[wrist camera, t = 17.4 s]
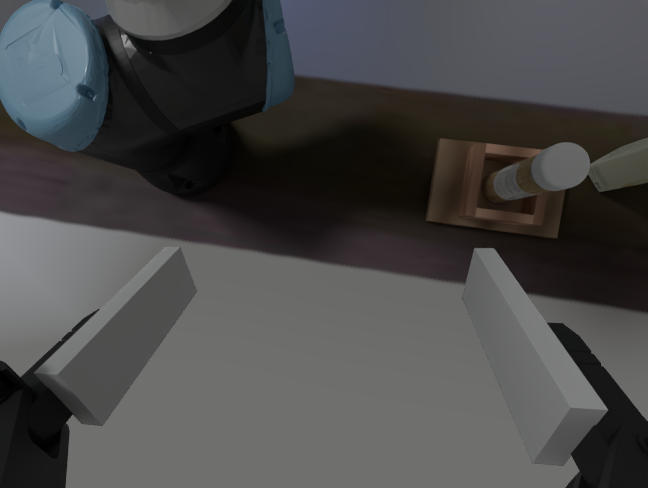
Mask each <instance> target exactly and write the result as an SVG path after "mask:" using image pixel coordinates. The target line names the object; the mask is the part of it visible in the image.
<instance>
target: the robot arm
mask: <svg viewBox="0 0 648 488" xmlns="http://www.w3.org/2000/svg"><path fill="white" fill-rule="evenodd" d="M105 2H106V6H107V10H108V12H109V15H106V16H104V17H101V18H99V19H96V20H91V18H90V17H89V16H88V15H87V14H86V13H85V12H84V11H83V10H81V9H80V8H78V7H76V6H72V5H70V4H68V3H64V2H62V1H60V0H33V1H31V2H29V3H27V4H25V5H23V6H22V7H21V8H19V9H18V10H17V11H16V12H15V13H14V14H13V15H12V16H11V17H10V19H9V20H8V21H7V23H6V25H5V27H4V28H3V30H2V32H1V35H0V99H1V101H2V104H3V106H4V107H5V109H6V111H7V112H8V114H9V115H10V117H11V118H12V119H13V120H14V121H15V122H16V124H18V125H19V126H20V127H21V128H22V129H23V130H25V131H27V132H28V133H29V134H31V135H33V136H35V137H37V138H39V139H41V140H44V141H47V142H49V143H52V144H54V145H56V146H58V147H59V148H61V149H63V150H66V151H71V152H73V151H75V152H78V153H81V154H85V155H88V156H91V157H94V158H98V159H101V160H104V161H107V162H110V163H114V164H117V165H120V166H123V167H126V168H130V169H133V170H136V171H137V172H138V173H139V174H140V175H141V176H143V177H144V178H145V179H146V180H147V181H148V182H149V183H151V184H152V185H153V186H155V187H157V188H158V189H160V190H163V191H165V192H168V193H172V194H176V195H183V196H189V195H196V194H199V193H202V192H205V191H206V190H208V189H210V188H211V187H213V186H214V185H215V184H216V183H217V182H218V181H219V180H220V179H221V178H222V177H223V175H224V174H225V172H226V170H227V168H228V165H229V163H230V159H231V153H232V141H231V136H230V132H229V130H228V127H227V125H226V123H229V122H232V121H235V120H238V119H241V118H244V117H247V116H251V115H254V114H257V113H260V112H265V111H266V110H267V109H268V108H270V107H272V106H274V105H277V104H279V103H281V102H284V101H286V100H287V99H288V98H289V97H290V96H291V95H292V93H293V91H294V87H295V77H294V69H293V62H292V56H291V51H290V46H289V41H288V36H287V32H286V29H285V27H284V20H283V14H282V8H281V4H280V0H105ZM196 293H197V290H196V287H195V285H194V282H193V280H192V277H191V274H190V272H189V269H188V266H187V264H186V261H185V258H184V256H183V253H182V251H181V248H180V247H165V248H163V249H162V250H161V251H160V252H159V253H158V254H157V255H156V256H155V257H154V258H153V259H152V260H151V261H150V262H149V263H148V264H147V265H146V266H145V267H144V268H143V269H142V270H140V272H138V273H137V274H136V275H135V276H134V277H133V278H132V279H131V280H130V281H129V282H128V283H127V284H126V285H125V286H124V287H123V288H122V289H121V290H120V291H119V292H118V293H116V294H115V295H114V296H113V297H112V298H111V299H110V300H109V301H108V302H107V303H106V304H105V305H104V306H103V307H102V308H101V309H98V310H96V311H95V312H93V313H92V314H90V315H88V316H87V317H85V318H84V319H82V320H81V321H80V322H79V323H78V324H77V325H76V326H75V327H74V328H73V329H72V331H71V332H69V333H67V334H66V335H65V336H64V337H63V338H62V341H59V342H58V343H57V344H56V345H55V346H54V347H53V348H51V349H50V350H49V351H48V352H47V353H46V354H45V355H44V356H43V357H42V358H41V359H40V360H39V361H38V362H36V363H35V364H34V365H33V366H32V367H31V368H30V369H29V370H28V371H27V372H26V373H25V374H24V375H23V376H21V377H19V376H18V375H17V374H16V373H15V372H14V371H13V370H12V369H11V368H10V367H9V366H8V365H7V364H6V363H5V362H3V361H0V488H65V486H66V472H67V459H68V445H69V427H68V425H67V424H66V422H67V421H68V419H69V418H70V417H71V416H72V415H74V416H75V417H76V418H77V419H78V421H80V423H81V424H87V425H98V426H103V425H104V423H105V422H106V420H107V419H108V418H109V416H110V415H111V413H112V412H113V410H114V409H115V408H116V406H117V405H118V403H119V402H120V401H121V399H122V398H123V396H124V395H125V393H126V392H127V391H128V389H129V388H130V386H131V385H132V383H133V382H134V381H135V379H136V378H137V376H138V375H139V374H140V372H141V371H142V369H143V368H144V366H145V365H146V364H147V362H148V360H149V359H150V358H151V356H152V355H153V353H154V352H155V351H156V349H157V348H158V347H159V345H160V344H161V342H162V341H163V339H164V338H165V337H166V335H167V334H168V332H169V331H170V329H171V328H172V327H173V325H174V324H175V322H176V321H177V320H178V318H179V317H180V315H181V314H182V312H183V311H184V310H185V308H186V307H187V305H188V304H189V302H190V301H191V300H192V298H193V297H194V295H195V294H196ZM462 299H463V301H464V304H465V306H466V308H467V311H468V313H469V315H470V318H471V320H472V322H473V324H474V327H475V329H476V332H477V334H478V337H479V339H480V341H481V344H482V346H483V348H484V351H485V353H486V355H487V358H488V360H489V362H490V365H491V367H492V369H493V371H494V374H495V376H496V379H497V381H498V383H499V386H500V388H501V391H502V393H503V395H504V397H505V400H506V402H507V405H508V407H509V409H510V412H511V414H512V416H513V419H514V421H515V423H516V426H517V428H518V430H519V433H520V435H521V437H522V440H523V442H524V444H525V447H526V449H527V451H528V454H529V456H530V458H531V461H532V463H535V464H547V465H559V466H563V465H564V464H565V463H566V461H567V460H568V459H569V458H570V456H571V455H572V457H573V459H574V461H575V463H576V465H577V467H578V468H579V470H580V471H579V473H578V474H577V475H576V476H575V477H574V478H573V479H572V480H571V481H570V483H569V484H568V485H567V487H566V488H648V421H646V419H645V418H644V417H643V416H642V415H641V414H640V412H639V411H638V410H637V408H636V407H635V406H634V405H633V404H632V402H631V401H630V399H629V398H628V397H627V396H626V394H625V393H624V392H623V391H622V389H621V388H620V387H619V386H618V384H617V383H616V382H615V381H614V379H613V378H612V377H611V375H610V374H609V373H608V372H607V370H606V369H605V368H604V367H602V366H601V363H600V362H599V360H598V359H597V358H596V357H595V355H594V354H591V350H590V349H589V348H588V346H587V345H586V344H585V343H584V341H583V340H582V339H581V338H580V336H579V335H577V334H576V333H575V332H573V331H572V330H570V329H569V328H568V327H566V326H565V325H564V324H562V323H546V321H545V320H544V318H543V317H542V316H541V314H540V313H539V311H538V310H537V309H536V307H535V306H534V304H533V303H532V301H531V300H530V299H529V297H528V296H527V294H526V293H525V292H524V290H523V289H522V287H521V286H520V284H519V283H518V282H517V280H516V279H515V277H514V276H513V275H512V273H511V272H510V270H509V269H508V267H507V266H506V265H505V263H504V262H503V260H502V259H501V258H500V256H499V255H498V253H497V252H496V251H495V249H494V248H474V252H473V256H472V260H471V264H470V268H469V272H468V276H467V280H466V284H465V288H464V292H463V297H462Z"/></svg>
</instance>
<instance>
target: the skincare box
mask: <svg viewBox="0 0 648 488" xmlns="http://www.w3.org/2000/svg"><path fill="white" fill-rule="evenodd" d="M588 175H589V177H590V179H591V180H592V182H593V184H594V185H595V187H596V188H597V190H598V191H599V192H604V191H609V190H613V189H619V188H623V187H629V186H634V185H639V184H644V183H648V138H646V139H643V140H640V141H637V142H634V143H631V144H628V145H625V146H622V147H620V148H618V149H616V150H614V151H612V152H611V153H609V154H607V155H605V156H603V157H602V158H600V159H598V160H596V161H595V162H593V163H591V164H590V169H589V172H588Z"/></svg>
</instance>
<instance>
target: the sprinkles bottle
mask: <svg viewBox="0 0 648 488" xmlns="http://www.w3.org/2000/svg"><path fill="white" fill-rule="evenodd" d="M589 169H590V159H589V156H588V154H587V153H586V151H585V150H584V149H583V148H582V147H580V146H579V145H577V144H574V143H568V142H564V143H559V144H556V145H553V146H551V147H549V148H546V149H544V150H542V151H541V152H540V153H539V154H537V155H535V156H532V157H530V158H528V159H525V160H523V161H521V162H518V163H515V164H513V165H510V166H508V167H506V168H504V169H502V170H501V171H498V172H494V173H492V174H490V175H489V176H488V177H487V178H486V179H485V181H484V183H483V193H484V196H485V197H486V198H487V199H488V200H489V201H491V202H494V203H504V202H507V201H508V200H516V199H520V198H525V197H529V196H533V195H538V194H541V193H544V192H548V191H560V190H564V189H568V188H571V187H574V186H576V185H578V184H580V183H581V182H582V181H583V180H584V179H585V178H586V176H587V175H588V172H589Z"/></svg>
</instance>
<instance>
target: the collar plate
mask: <svg viewBox="0 0 648 488" xmlns="http://www.w3.org/2000/svg"><path fill="white" fill-rule="evenodd" d="M541 151H542V150H539V149H530V148H522V147H513V146H504V145H495V144H486V143H478V142H469V141H460V140H451V139H442V138H440V139H439V140H438V142H437V147H436V154H435V160H434V167H433V173H432V180H431V186H430V193H429V199H428V205H427V212H426V218H425V221H427V222H435V223H442V224H449V225H457V226H464V227H471V228H479V229H486V230H493V231H501V232H508V233H515V234H523V235H530V236H537V237H545V238H557V236H558V231H559V225H560V219H561V213H562V207H563V201H564V195H565V189H564V190H560V191H548V192H544V193H541V194H538V195H533V196H529V197H525V198H520V199H516V200H508V201H507V202H504V203H494V202H491V201H489V200H488V199H487V198H486V197H485V196H484V193H483V183H484V181H485V179H486V178H487V177H488V176H489V175H490V174H492V173H494V172H498V171H501V170H502V169H504V168H506V167H508V166H510V165H513V164H515V163H518V162H521V161H523V160H525V159H528V158H530V157H532V156H535V155H537V154H539V153H540V152H541Z"/></svg>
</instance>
